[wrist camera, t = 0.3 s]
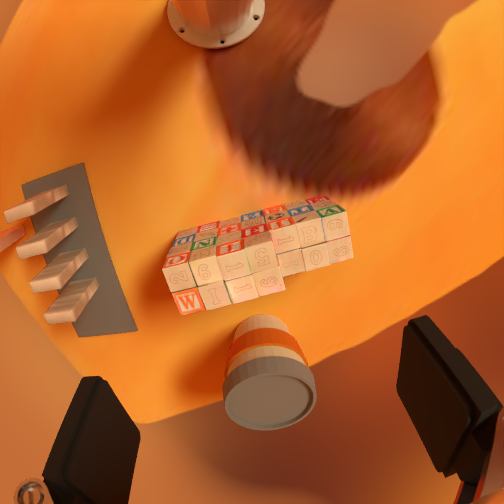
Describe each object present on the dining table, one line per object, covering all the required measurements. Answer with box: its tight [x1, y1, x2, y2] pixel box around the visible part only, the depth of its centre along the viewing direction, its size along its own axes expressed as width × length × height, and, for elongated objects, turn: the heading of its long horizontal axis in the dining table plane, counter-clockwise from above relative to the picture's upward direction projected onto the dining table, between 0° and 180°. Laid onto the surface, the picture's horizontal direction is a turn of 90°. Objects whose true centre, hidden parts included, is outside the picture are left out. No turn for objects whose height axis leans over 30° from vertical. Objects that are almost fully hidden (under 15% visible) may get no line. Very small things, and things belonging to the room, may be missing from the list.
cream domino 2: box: [16, 217, 79, 259], centre depth 38 cm, size 2×5×10 cm, turn 99°
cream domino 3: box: [29, 248, 88, 293], centre depth 40 cm, size 2×5×10 cm, turn 99°
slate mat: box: [22, 163, 138, 337], centre depth 45 cm, size 28×12×1 cm, turn 9°
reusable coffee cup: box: [223, 314, 317, 430], centre depth 46 cm, size 12×13×15 cm
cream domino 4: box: [44, 277, 99, 324], centre depth 42 cm, size 2×5×10 cm, turn 100°
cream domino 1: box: [4, 184, 69, 223], centre depth 36 cm, size 2×5×10 cm, turn 99°
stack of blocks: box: [162, 195, 353, 315], centre depth 40 cm, size 21×6×12 cm, turn 104°
